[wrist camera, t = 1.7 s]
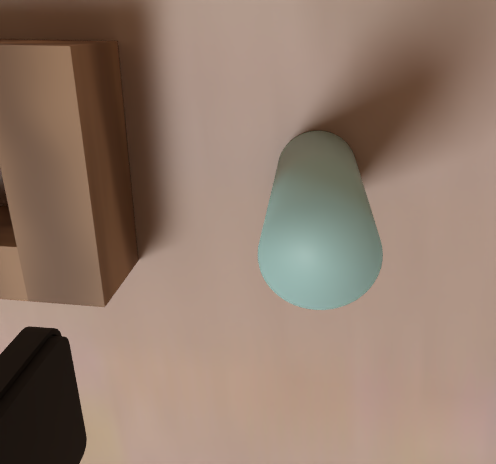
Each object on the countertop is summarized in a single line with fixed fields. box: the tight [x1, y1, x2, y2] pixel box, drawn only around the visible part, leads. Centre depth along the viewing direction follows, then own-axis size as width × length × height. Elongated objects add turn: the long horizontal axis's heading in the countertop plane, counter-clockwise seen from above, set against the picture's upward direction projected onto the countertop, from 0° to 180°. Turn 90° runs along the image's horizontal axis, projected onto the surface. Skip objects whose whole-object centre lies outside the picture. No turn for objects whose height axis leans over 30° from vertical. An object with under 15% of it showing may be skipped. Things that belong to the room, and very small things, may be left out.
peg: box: [258, 131, 383, 310], centre depth 20 cm, size 4×4×10 cm
